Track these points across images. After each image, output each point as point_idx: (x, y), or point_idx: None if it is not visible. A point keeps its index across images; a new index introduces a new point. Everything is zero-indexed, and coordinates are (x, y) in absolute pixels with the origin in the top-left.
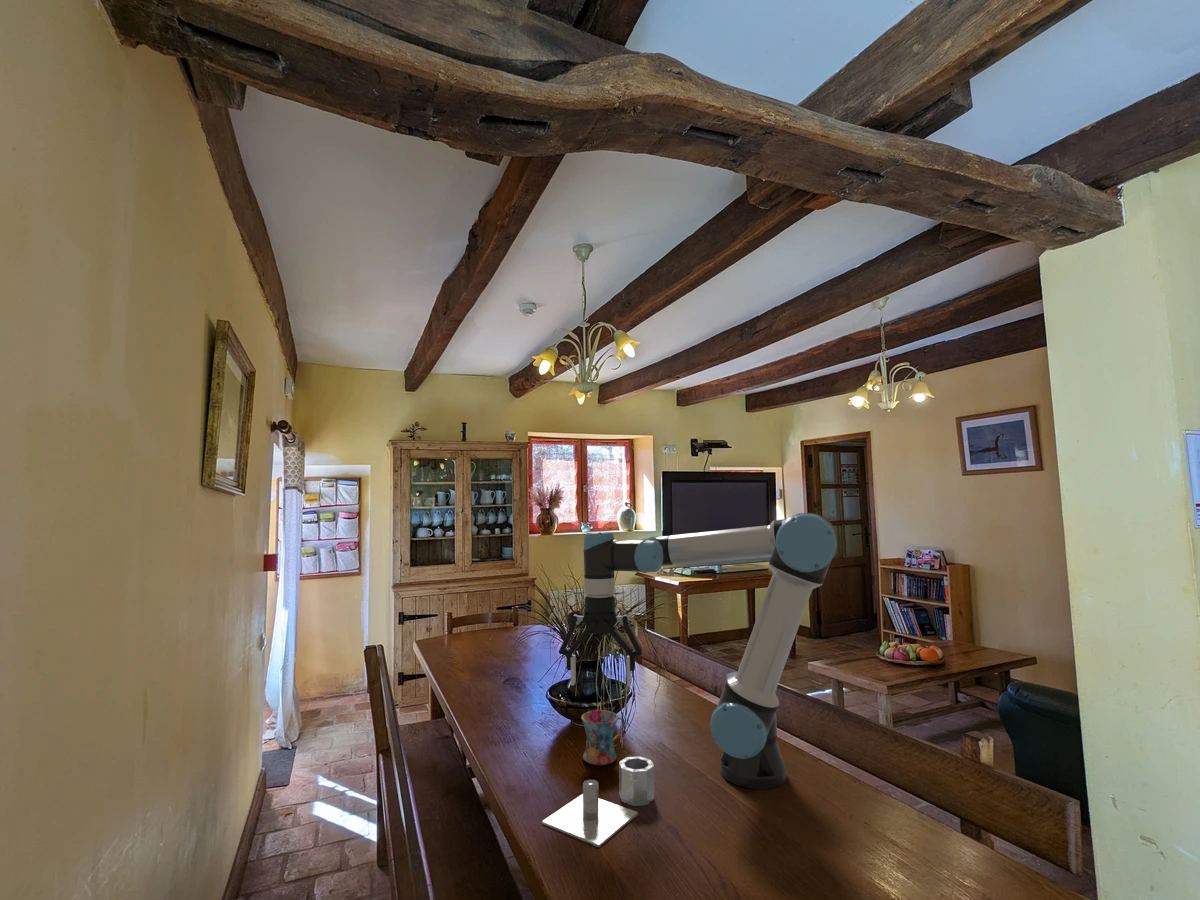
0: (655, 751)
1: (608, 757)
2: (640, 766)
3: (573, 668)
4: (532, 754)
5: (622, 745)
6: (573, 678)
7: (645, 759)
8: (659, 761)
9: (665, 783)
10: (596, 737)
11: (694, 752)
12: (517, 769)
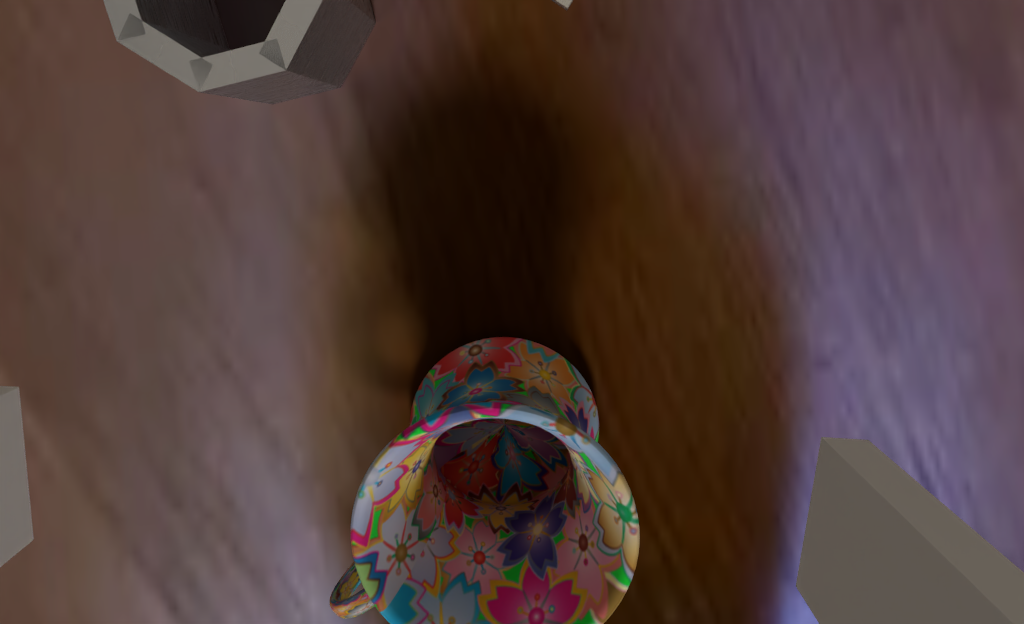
0: (213, 534)
1: (449, 369)
2: (207, 54)
3: (980, 580)
4: None
5: None
6: (877, 482)
7: (151, 42)
8: (185, 421)
9: (139, 172)
10: (515, 399)
11: None
12: (955, 295)
